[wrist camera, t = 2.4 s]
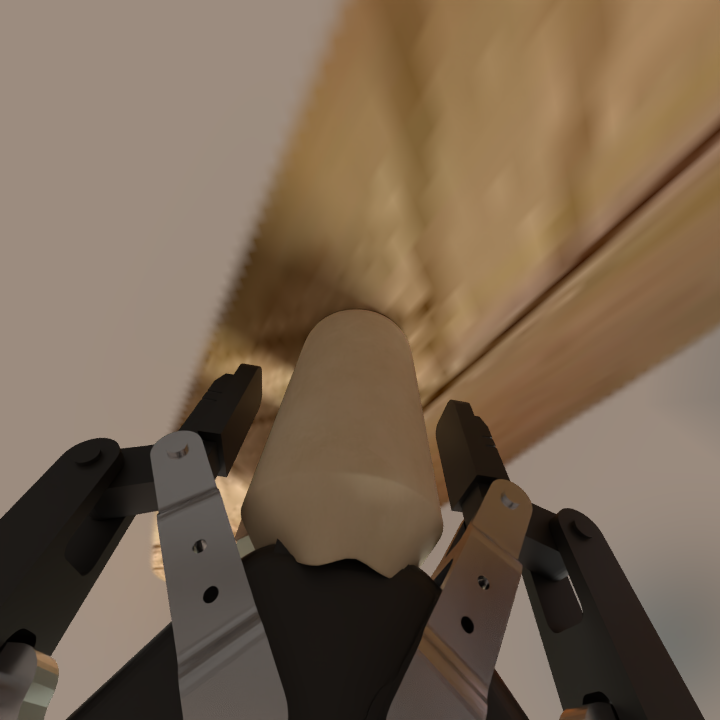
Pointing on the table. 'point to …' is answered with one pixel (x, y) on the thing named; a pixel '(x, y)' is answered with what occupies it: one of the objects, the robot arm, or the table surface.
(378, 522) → the candle
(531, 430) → the table surface
